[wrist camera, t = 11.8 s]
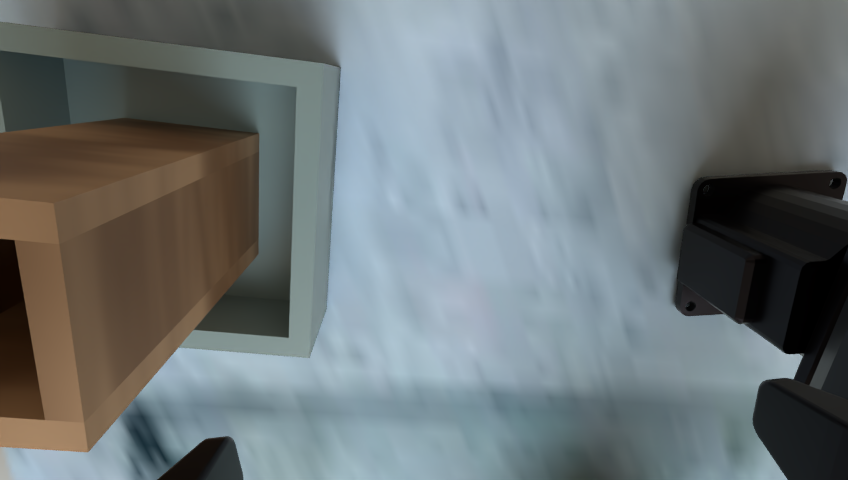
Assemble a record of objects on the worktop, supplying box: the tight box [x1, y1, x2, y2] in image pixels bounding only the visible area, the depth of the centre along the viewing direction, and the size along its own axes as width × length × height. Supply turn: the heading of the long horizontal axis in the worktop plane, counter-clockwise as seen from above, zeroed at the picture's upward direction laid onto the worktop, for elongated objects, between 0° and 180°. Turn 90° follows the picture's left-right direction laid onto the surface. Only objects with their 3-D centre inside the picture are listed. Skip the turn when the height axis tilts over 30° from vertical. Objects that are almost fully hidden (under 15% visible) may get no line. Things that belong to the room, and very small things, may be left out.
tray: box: [0, 22, 341, 358], centre depth 17 cm, size 11×11×4 cm
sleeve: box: [0, 118, 259, 452], centre depth 13 cm, size 5×5×11 cm
